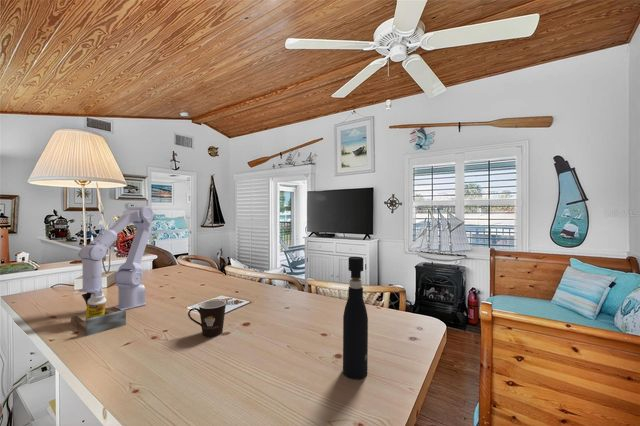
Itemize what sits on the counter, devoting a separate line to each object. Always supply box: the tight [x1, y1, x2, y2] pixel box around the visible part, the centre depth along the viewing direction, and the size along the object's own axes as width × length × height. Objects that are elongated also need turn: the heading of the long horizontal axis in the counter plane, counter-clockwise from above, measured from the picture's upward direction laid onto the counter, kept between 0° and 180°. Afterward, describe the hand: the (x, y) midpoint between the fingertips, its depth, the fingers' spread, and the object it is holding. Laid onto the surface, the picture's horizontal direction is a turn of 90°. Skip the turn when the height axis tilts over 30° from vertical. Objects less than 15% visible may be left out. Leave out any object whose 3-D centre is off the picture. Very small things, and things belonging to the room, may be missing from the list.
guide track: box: [70, 307, 127, 336], centre depth 104 cm, size 11×19×5 cm, turn 54°
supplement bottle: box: [85, 292, 107, 320], centre depth 105 cm, size 6×6×10 cm
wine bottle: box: [342, 256, 369, 380], centre depth 74 cm, size 6×6×30 cm
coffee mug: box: [187, 299, 227, 338], centre depth 97 cm, size 12×9×10 cm
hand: (92, 311), depth 108 cm, fingers closed
